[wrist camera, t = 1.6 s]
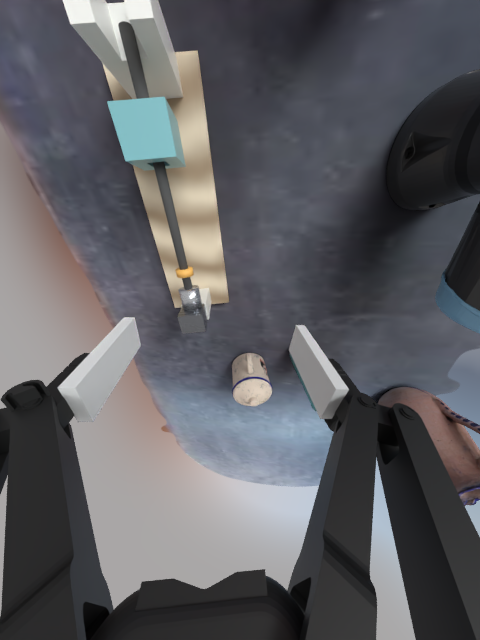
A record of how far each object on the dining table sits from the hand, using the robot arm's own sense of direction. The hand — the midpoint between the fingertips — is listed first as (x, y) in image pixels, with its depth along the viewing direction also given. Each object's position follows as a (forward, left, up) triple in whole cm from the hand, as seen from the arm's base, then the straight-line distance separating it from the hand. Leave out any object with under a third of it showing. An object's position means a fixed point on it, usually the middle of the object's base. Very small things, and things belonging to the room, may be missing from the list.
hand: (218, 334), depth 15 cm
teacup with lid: (+15, +20, -23) cm, 34 cm away
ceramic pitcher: (-3, +68, -23) cm, 72 cm away
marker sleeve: (-8, -15, -16) cm, 23 cm away
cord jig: (-3, -10, -23) cm, 25 cm away
